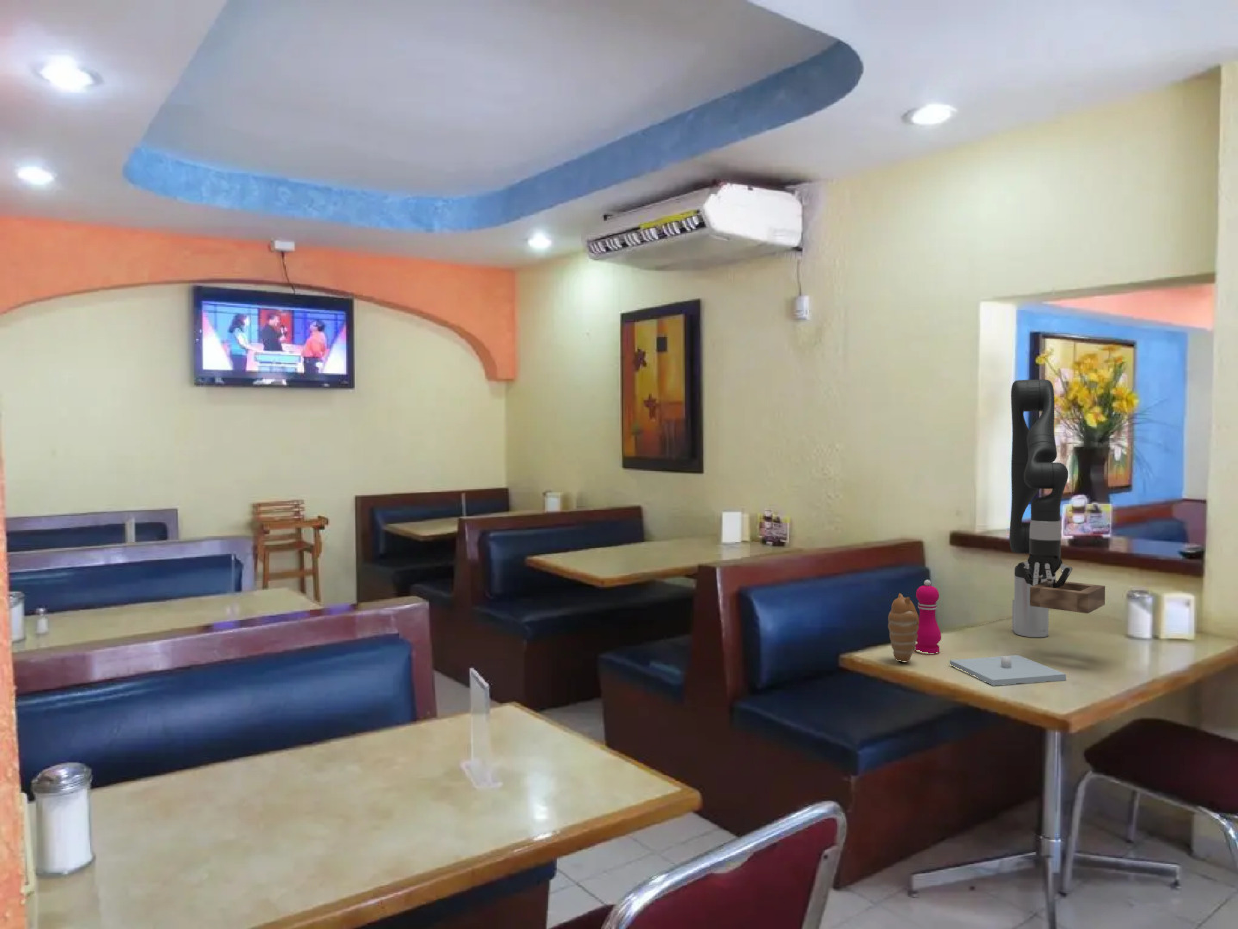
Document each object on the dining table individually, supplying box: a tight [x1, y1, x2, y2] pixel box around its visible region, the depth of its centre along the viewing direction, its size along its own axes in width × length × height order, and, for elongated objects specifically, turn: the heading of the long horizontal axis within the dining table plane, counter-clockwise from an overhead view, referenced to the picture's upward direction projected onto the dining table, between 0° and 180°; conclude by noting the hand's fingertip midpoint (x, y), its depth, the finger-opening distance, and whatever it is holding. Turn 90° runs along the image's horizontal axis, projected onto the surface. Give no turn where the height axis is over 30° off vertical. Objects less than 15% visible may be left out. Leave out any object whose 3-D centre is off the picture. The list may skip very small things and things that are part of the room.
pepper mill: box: [914, 579, 942, 653], centre depth 239 cm, size 7×7×20 cm
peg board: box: [949, 654, 1067, 687], centre depth 219 cm, size 18×20×4 cm
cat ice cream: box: [887, 592, 919, 662], centre depth 229 cm, size 9×8×18 cm
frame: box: [1030, 580, 1106, 614], centre depth 228 cm, size 14×14×5 cm
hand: (1044, 601), depth 232 cm, fingers closed on frame, 2 cm apart
